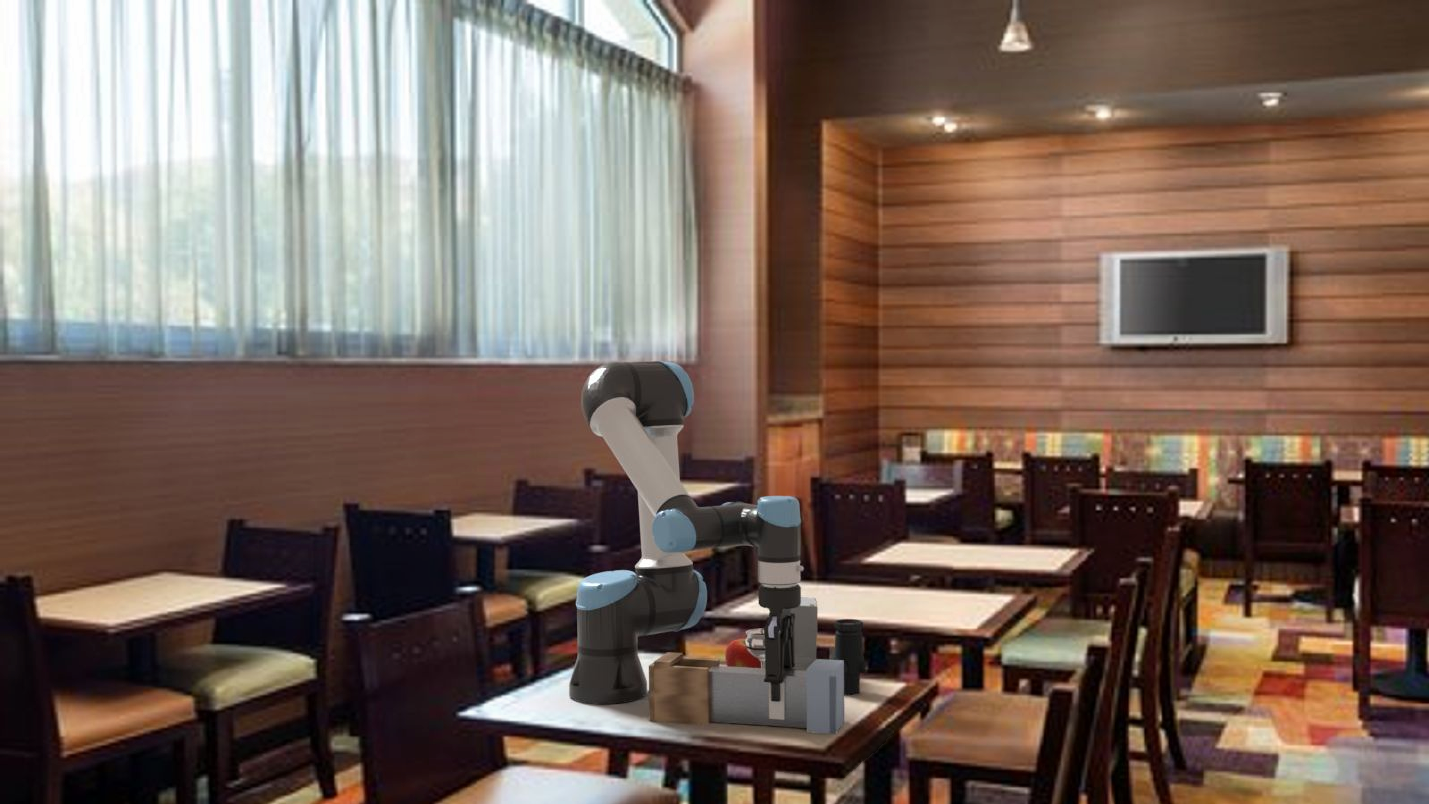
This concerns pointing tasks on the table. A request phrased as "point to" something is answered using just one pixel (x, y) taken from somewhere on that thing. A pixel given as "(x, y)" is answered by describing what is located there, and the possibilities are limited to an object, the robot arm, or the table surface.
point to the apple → (740, 655)
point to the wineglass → (756, 644)
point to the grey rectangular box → (755, 697)
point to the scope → (850, 653)
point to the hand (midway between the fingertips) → (780, 714)
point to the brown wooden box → (680, 689)
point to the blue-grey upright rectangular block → (825, 696)
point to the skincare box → (805, 633)
